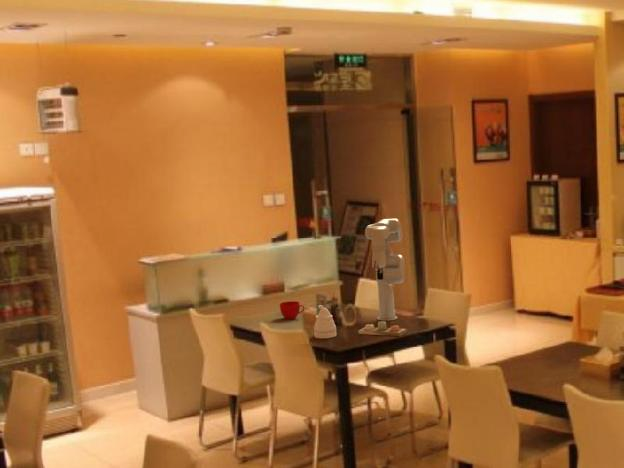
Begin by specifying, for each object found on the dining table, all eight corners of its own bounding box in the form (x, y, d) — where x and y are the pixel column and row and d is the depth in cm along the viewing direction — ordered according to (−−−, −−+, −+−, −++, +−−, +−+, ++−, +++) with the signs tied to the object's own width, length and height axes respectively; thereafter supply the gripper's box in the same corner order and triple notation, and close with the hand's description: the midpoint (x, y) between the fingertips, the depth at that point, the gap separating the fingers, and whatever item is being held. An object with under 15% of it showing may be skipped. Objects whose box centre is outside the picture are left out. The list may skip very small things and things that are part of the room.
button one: (368, 330, 509) (367, 323, 509) (375, 331, 507) (375, 324, 506) (364, 332, 505) (364, 325, 505) (371, 332, 503) (371, 325, 502)
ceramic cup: (300, 320, 553) (299, 305, 552) (277, 320, 561) (276, 304, 560) (309, 316, 565) (308, 301, 564) (286, 316, 572) (285, 301, 571)
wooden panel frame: (366, 330, 513) (365, 326, 513) (406, 332, 500) (406, 328, 500) (358, 333, 504) (358, 330, 504) (399, 336, 491) (399, 332, 491)
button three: (393, 332, 501) (392, 325, 501) (400, 332, 499) (400, 325, 499) (389, 333, 497) (389, 326, 497) (397, 334, 495) (396, 327, 494)
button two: (380, 328, 505) (379, 321, 505) (387, 328, 503) (387, 321, 502) (376, 329, 501) (376, 322, 500) (384, 330, 499) (383, 323, 498)
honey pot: (318, 339, 497) (316, 308, 495) (311, 335, 509) (309, 304, 507) (339, 336, 500) (337, 305, 499) (332, 332, 513) (330, 302, 511)
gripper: (378, 247, 521) (379, 277, 523) (367, 250, 508) (369, 281, 510) (389, 247, 517) (391, 277, 519) (379, 250, 504) (380, 281, 506)
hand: (380, 279), depth 514 cm, fingers closed
